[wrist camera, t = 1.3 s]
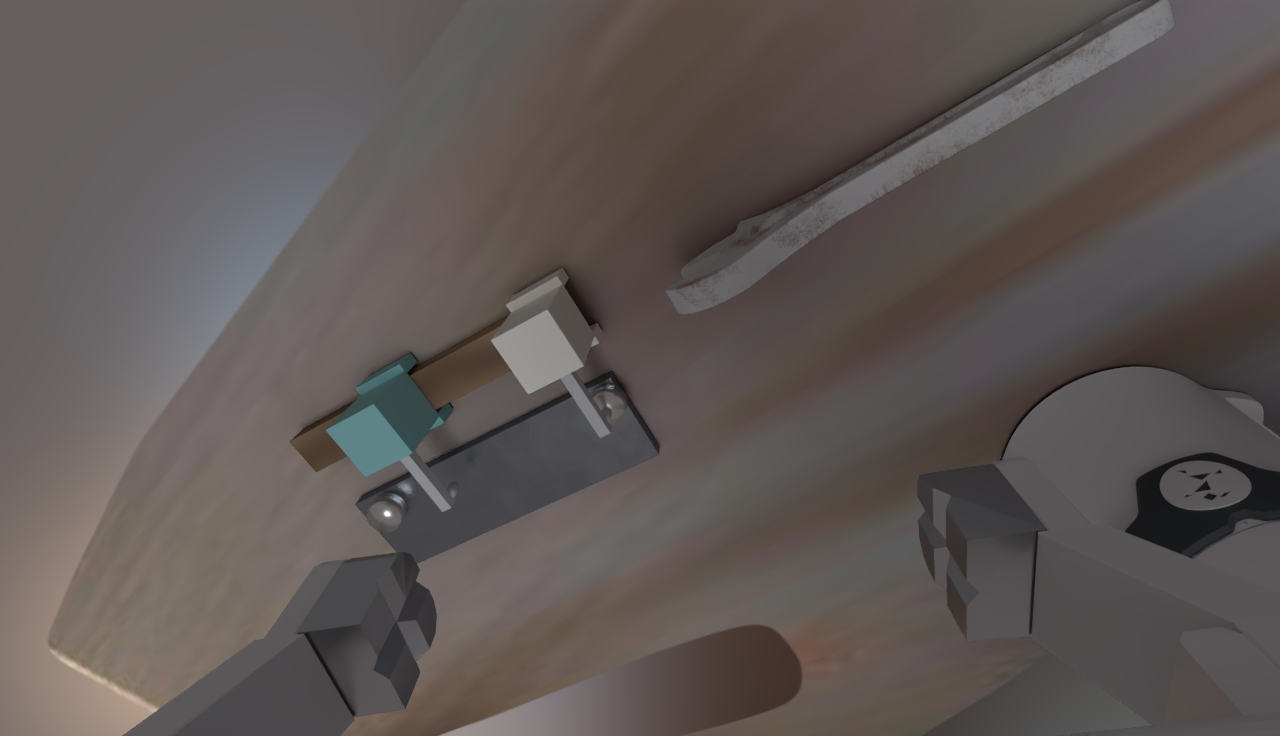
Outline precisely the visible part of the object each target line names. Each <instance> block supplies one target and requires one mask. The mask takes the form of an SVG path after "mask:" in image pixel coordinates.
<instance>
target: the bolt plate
mask: <svg viewBox="0 0 1280 736" xmlns="http://www.w3.org/2000/svg"><path fill="white" fill-rule="evenodd" d="M585 387H586V388H587V390H588V391H589V393H590V395H591V396H592V398H593V399H594V401H595V402H596V404H597V405H598V407H599V408H600V410H602V409H603V408H609V409H610V410H611V411H612V416H611V421H610V425H611V426H612V428H611V433H610V434H608V435H605V436H603V437H601V438H600V437H599V436H598V434H597V433H596V431H595V430H594V428H593V427H592V425H591V424H590V422H589V421H588V419H587V418H586V416H585V415H584V413H583V412H582V410H581V409H580V407H579V406H578V404H577V403H576V401H575V400H574V398H573V397H572V395H571V394H570V392H569V393H567V394H565V395H563V396H561V397H559V398H557V399H555V400H553V401H551V402H549V403H547V404H545V405H543V406H541V407H539V408H537V409H535V410H533V411H531V412H529V413H527V414H525V415H523V416H521V417H519V418H517V419H515V420H513V421H511V422H509V423H507V424H505V425H503V426H501V427H499V428H497V429H495V430H492V431H490V432H488V433H486V434H484V435H482V436H480V437H478V438H476V439H474V440H472V441H470V442H468V443H466V444H464V445H462V446H460V447H458V448H456V449H454V450H452V451H450V452H448V453H446V454H444V455H442V456H440V457H438V458H436V459H434V460H432V461H430V462H428V463H426V465H427V466H428V468H429V469H430V470H431V471H432V473H433V474H434V475H435V476H436V478H437V479H438V480H439V481H440V483H441V484H442V485H443V486H444V488H445V489H447V487H448V486H449V484H450V483H451V482H453V481H455V482H458V483H459V485H460V489H459V491H458V492H457V494H456V496H455V498H454V500H455V502H454V504H453V506H452V508H450V509H448V510H446V511H444V512H442V511H441V510H440V509H439V507H438V506H437V505H436V504H435V502H434V501H433V500H432V499H431V498H430V496H429V495H428V494H427V493H426V491H425V490H424V489H423V488H422V486H421V485H420V484H419V483H418V482H417V480H416V479H415V478H414V477H413V475H412V474H411V473H410V472H408V473H406V474H404V475H402V476H400V477H398V478H396V479H394V480H392V481H390V482H388V483H386V484H384V485H382V486H380V487H378V488H376V489H374V490H372V491H370V492H368V493H366V494H364V495H362V496H361V498H360V499H359V500H358V502H357V503H356V504H355V505H356V506H357V507H358V508H359V510H360V511H361V512H362V513H363V514H364V515H365V516H366V518H367V520H368V522H369V524H370V525H371V526H372V527H373V528H375V529H376V530H378V531H379V532H380V534H381V535H382V536H383V537H384V538H385V539H386V540H387V542H388V543H389V544H390V545H391V546H392V547H393V549H394V550H395V551H396V552H397V553H398V552H406V553H409V554H411V555H412V556H413V558H414V560H415V562H416V563H419V562H422V561H424V560H426V559H428V558H430V557H433V556H435V555H437V554H439V553H442V552H444V551H446V550H448V549H450V548H453V547H455V546H457V545H459V544H462V543H464V542H466V541H468V540H470V539H473V538H475V537H477V536H479V535H482V534H484V533H486V532H488V531H490V530H493V529H495V528H497V527H499V526H502V525H504V524H506V523H508V522H510V521H513V520H515V519H517V518H519V517H522V516H524V515H526V514H528V513H530V512H533V511H535V510H537V509H539V508H541V507H544V506H546V505H548V504H550V503H553V502H555V501H557V500H559V499H561V498H564V497H566V496H568V495H570V494H573V493H575V492H577V491H579V490H581V489H584V488H586V487H588V486H590V485H593V484H595V483H597V482H599V481H601V480H604V479H606V478H608V477H610V476H613V475H615V474H617V473H619V472H621V471H624V470H626V469H628V468H630V467H633V466H635V465H637V464H639V463H641V462H644V461H646V460H648V459H650V458H652V457H655V456H657V455H659V448H660V446H659V444H658V443H657V441H656V439H655V438H654V436H653V435H652V433H651V432H650V430H649V428H648V427H647V425H646V424H645V422H644V420H643V419H642V417H641V416H640V414H639V413H638V411H637V409H636V408H635V406H634V405H633V403H632V402H631V400H630V398H629V397H628V395H627V394H626V392H625V390H624V389H623V387H622V386H621V384H620V383H619V381H618V379H617V378H616V376H615V375H614V373H613V372H612V371H611V372H609V373H607V374H605V375H603V376H601V377H599V378H597V379H595V380H593V381H591V382H589V383H587V384H585Z"/></svg>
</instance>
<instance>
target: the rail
mask: <svg viewBox="0 0 1280 736" xmlns="http://www.w3.org/2000/svg"><path fill="white" fill-rule="evenodd" d="M507 317H508V316H507ZM507 317H505V318H504V319H502V320H500V321H498V322H496V323H495V324H493V325H491V326H489V327H487V328H485V329H484V330H482V331H480V332H478V333H476V334H475V335H473V336H471V337H469V338H467V339H465V340H464V341H462V342H460V343H458V344H456V345H455V346H453V347H451V348H449V349H447V350H445V351H444V352H442V353H440V354H438V355H436V356H435V357H433V358H431V359H429V360H427V361H425V362H424V363H422V364H420V365H418V366H416V367H415V368H413V369H411V370H409V371H408V372H407V374H408V375H409V376H410V378H411V379H412V380H413V381H414V383H415V384H416V385H417V387H418V388H419V389H420V391H421V392H422V393H423V395H424V396H425V397H426V398H427V400H428V401H429V402H430V404H431V405H432V406H433V408H434V409H435V410H436V409H438V408H440V407H442V406H444V405H446V404H448V403H449V402H451V401H453V400H455V399H457V398H459V397H461V396H463V395H465V394H467V393H469V392H470V391H472V390H474V389H476V388H478V387H480V386H482V385H484V384H486V383H488V382H490V381H491V380H493V379H495V378H497V377H499V376H501V375H503V374H505V373H507V372H509V371H511V369H510V368H509V366H508V365H507V363H506V362H505V360H504V359H503V357H502V356H501V355H500V353H499V352H498V350H497V349H496V347H495V346H494V345H493V343H492V342H491V339H492V338H493V336H494V335H495V334H496V332H497V331H498V330H499V328H500V327H501V326H502V324H503V323H504V321H505V320H506V319H507ZM356 400H357V399H356ZM356 400H355V401H356ZM353 402H354V401H353ZM353 402H351V403H349V404H347V405H346V406H344V407H342V408H340V409H338V410H336V411H335V412H333V413H331V414H329V415H327V416H326V417H324V418H322V419H320V420H318V421H316V422H315V423H313V424H311V425H309V426H307V427H306V428H304V429H303V430H302V431H301V432H300V433H299V434H297V435H296V436H295V437H294V438H293V439H292V440H291V441H290V443H291V444H292V445H293V446H294V447H295V448H296V450H297V451H298V452H299V453H300V454H301V455H302V456H303V458H304V459H305V460H306V461H307V462H308V463H309V464H310V466H311V467H312V468H313V469H314V470H315V471H316V472H318V471H320V470H321V469H323V468H325V467H327V466H329V465H331V464H333V463H335V462H337V461H339V460H341V459H342V458H344V457H346V456H347V455H346V454H345V453H344V451H343V450H342V449H341V448H340V447H339V445H338V444H337V443H336V442H335V441H334V440H333V438H332V437H331V436H330V435H329V434H328V432H327V431H326V429H327V428H328V427H329V426H330V425H331V424H332V423H333V422H334V421H335V420H336V419H337V418H338V417H339V416H340V415H341V414H342V413H343V412H344V411H345V410H346V409H347V408H348V407H349V406H350V405H351V404H352V403H353Z"/></svg>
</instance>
